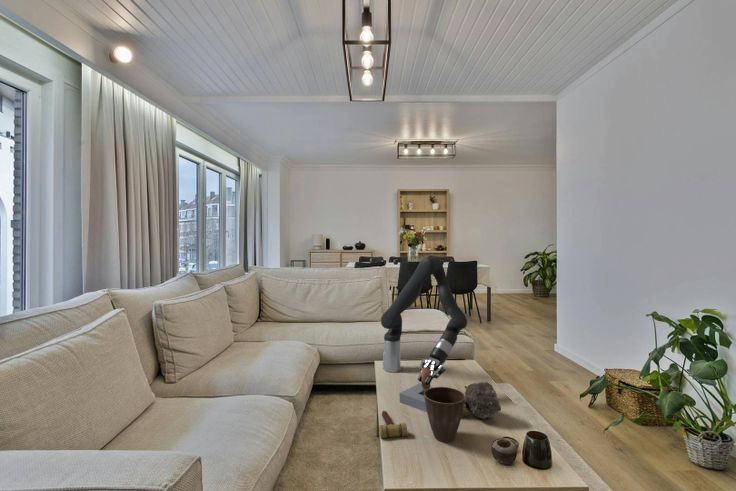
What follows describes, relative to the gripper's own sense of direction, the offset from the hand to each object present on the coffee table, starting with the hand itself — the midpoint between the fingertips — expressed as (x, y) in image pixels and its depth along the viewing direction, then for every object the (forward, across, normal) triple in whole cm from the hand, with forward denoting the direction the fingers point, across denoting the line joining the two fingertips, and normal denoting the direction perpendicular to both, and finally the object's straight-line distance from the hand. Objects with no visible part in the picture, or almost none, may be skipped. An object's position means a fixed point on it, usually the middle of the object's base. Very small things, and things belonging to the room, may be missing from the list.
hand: (422, 382), depth 165 cm
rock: (0, +21, +13) cm, 25 cm away
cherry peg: (+2, 0, +5) cm, 5 cm away
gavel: (+25, +6, -10) cm, 27 cm away
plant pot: (+16, +26, -2) cm, 30 cm away
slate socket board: (+5, 0, +8) cm, 10 cm away
